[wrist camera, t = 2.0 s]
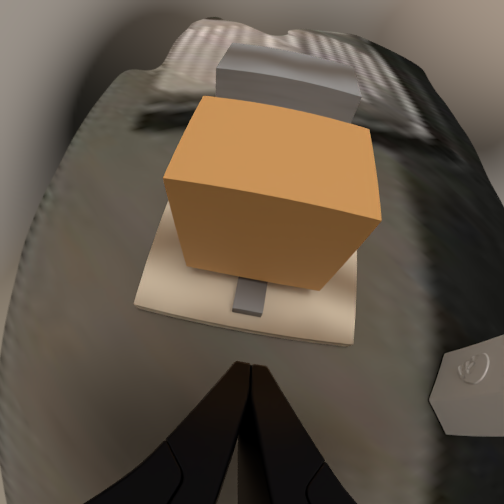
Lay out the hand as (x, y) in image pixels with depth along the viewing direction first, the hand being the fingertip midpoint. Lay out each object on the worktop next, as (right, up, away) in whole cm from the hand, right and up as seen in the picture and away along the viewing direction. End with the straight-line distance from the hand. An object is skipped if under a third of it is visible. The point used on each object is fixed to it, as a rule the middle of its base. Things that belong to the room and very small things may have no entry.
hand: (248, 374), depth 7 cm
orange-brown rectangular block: (+1, +4, +13) cm, 14 cm away
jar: (+19, -10, +12) cm, 25 cm away
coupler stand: (+1, +8, +19) cm, 20 cm away
